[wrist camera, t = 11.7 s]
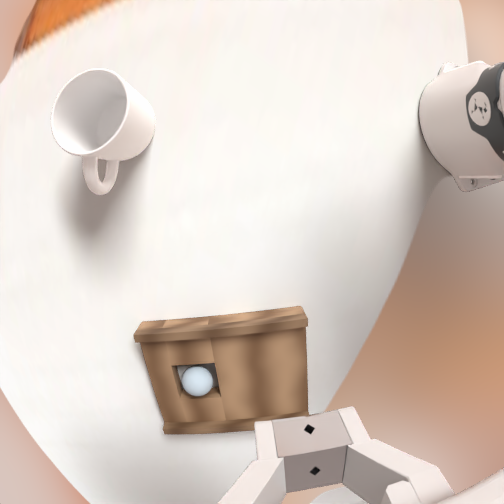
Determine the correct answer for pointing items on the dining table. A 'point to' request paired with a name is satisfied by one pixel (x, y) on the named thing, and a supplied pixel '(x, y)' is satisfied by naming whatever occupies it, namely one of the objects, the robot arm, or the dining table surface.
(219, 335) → the wooden tray
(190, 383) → the ball
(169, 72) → the dining table surface
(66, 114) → the mug
